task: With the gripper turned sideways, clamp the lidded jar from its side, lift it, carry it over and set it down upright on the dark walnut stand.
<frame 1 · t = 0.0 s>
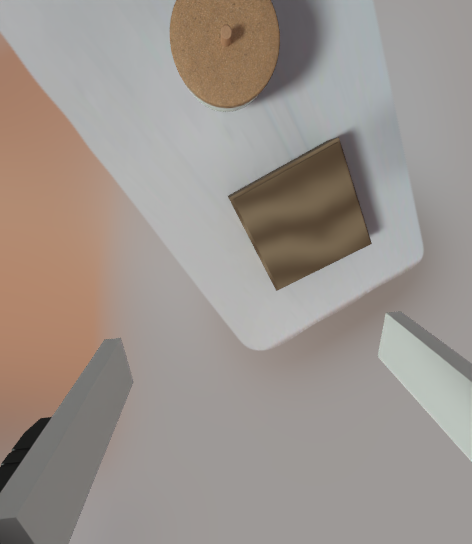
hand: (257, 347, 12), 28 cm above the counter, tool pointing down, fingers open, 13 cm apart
walnut stand: (297, 218, 38), on the counter
lidded jar: (223, 73, 31), on the counter
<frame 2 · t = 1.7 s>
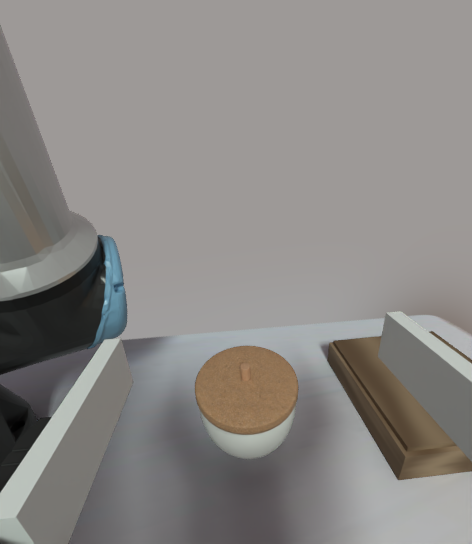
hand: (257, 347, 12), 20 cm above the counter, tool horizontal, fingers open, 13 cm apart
walnut stand: (416, 399, 31), on the counter
lidded jar: (248, 430, 29), on the counter
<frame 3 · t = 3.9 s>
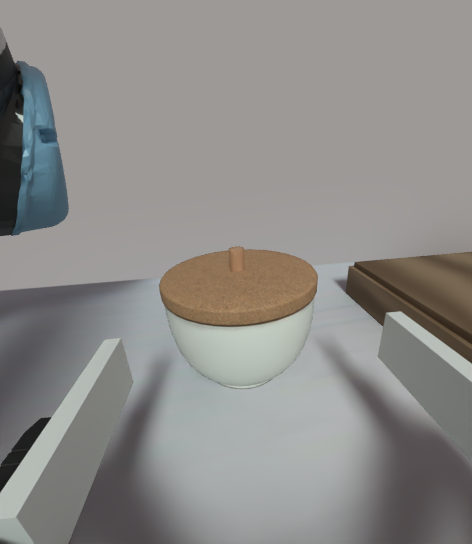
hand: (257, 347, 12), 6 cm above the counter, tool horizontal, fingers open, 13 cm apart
lidded jar: (243, 360, 20), on the counter
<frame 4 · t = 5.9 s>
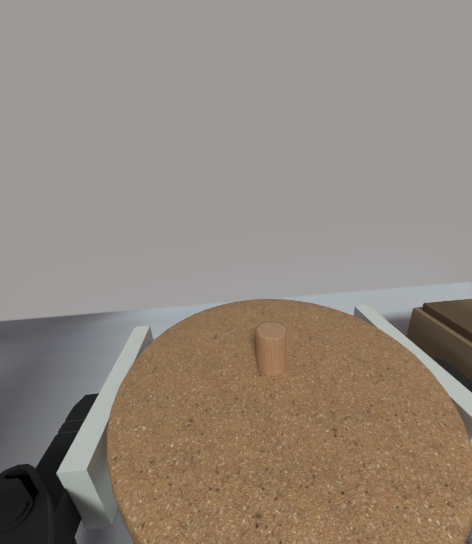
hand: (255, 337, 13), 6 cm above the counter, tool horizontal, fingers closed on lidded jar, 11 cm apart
lidded jar: (272, 500, 12), on the counter, touching gripper
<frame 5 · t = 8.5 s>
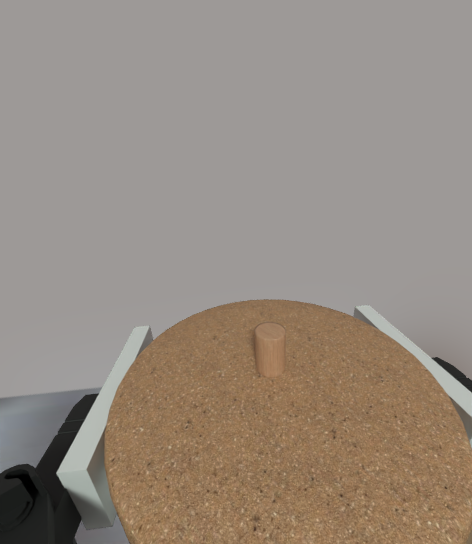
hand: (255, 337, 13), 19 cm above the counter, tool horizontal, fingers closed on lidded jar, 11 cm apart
lidded jar: (272, 501, 12), point 13 cm above the counter, touching gripper
when the fingers open (11 cm above the counter, at t = 11.0 s): lidded jar drops 1 cm, resting on walnut stand.
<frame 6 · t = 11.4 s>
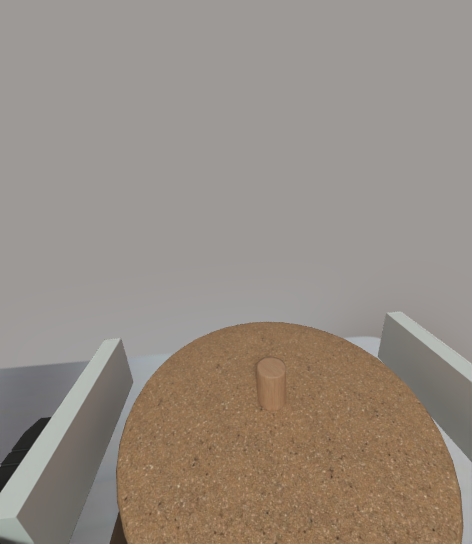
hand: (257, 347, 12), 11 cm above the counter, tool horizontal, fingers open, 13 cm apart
lidded jar: (273, 519, 12), point 4 cm above the counter, touching walnut stand
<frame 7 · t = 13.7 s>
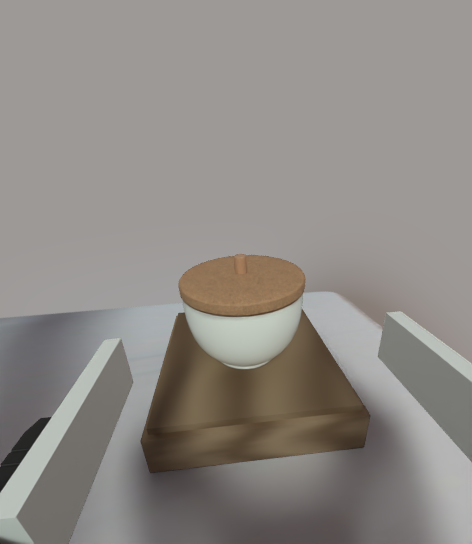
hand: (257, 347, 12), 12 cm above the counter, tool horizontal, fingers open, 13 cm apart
walnut stand: (246, 377, 26), on the counter
lidded jar: (245, 348, 24), point 4 cm above the counter, touching walnut stand
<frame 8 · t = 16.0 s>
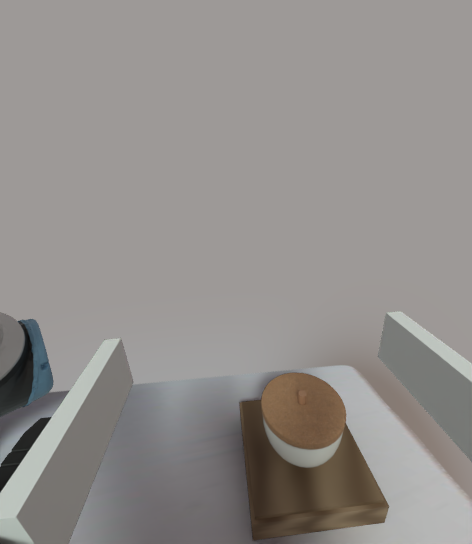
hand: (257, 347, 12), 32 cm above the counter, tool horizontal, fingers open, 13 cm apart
walnut stand: (298, 459, 37), on the counter
lidded jar: (299, 442, 35), point 4 cm above the counter, touching walnut stand
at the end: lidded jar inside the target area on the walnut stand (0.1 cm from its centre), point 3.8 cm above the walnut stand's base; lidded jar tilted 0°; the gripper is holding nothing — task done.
